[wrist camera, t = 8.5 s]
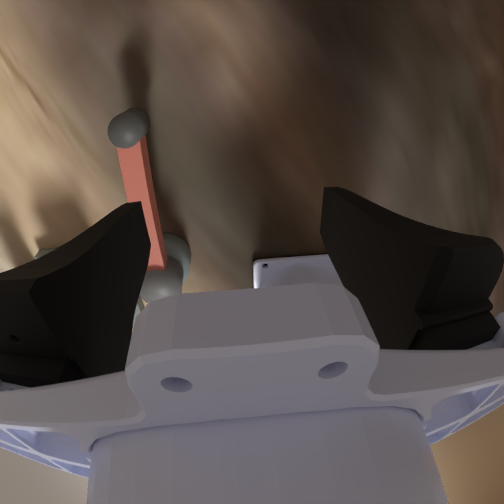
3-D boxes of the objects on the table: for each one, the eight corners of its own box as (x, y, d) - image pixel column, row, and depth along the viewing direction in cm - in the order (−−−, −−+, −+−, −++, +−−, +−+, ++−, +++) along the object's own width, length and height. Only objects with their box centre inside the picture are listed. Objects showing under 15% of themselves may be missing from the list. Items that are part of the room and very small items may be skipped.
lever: (158, 103, 15) (150, 109, 14) (186, 286, 23) (184, 306, 22) (108, 112, 15) (95, 119, 13) (148, 288, 23) (143, 307, 21)
